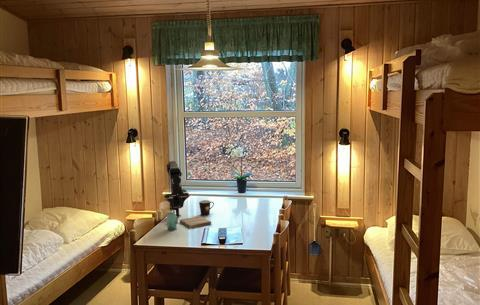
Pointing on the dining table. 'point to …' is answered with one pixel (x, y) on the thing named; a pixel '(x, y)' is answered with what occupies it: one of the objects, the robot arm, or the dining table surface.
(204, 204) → the coffee mug
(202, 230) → the dining table surface
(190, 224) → the walnut board
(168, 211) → the teal tin
